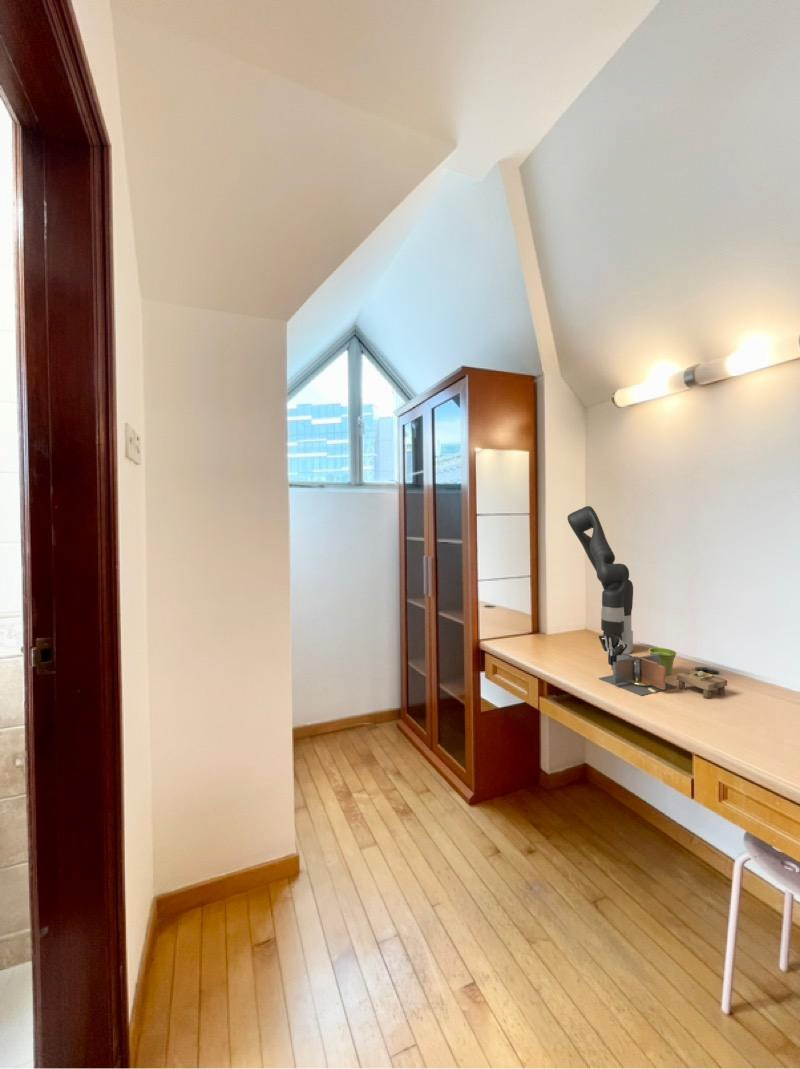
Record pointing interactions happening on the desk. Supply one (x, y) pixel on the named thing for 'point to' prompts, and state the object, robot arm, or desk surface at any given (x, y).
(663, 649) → the plant pot
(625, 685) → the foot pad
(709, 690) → the level stand
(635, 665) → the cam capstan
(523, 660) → the desk surface
